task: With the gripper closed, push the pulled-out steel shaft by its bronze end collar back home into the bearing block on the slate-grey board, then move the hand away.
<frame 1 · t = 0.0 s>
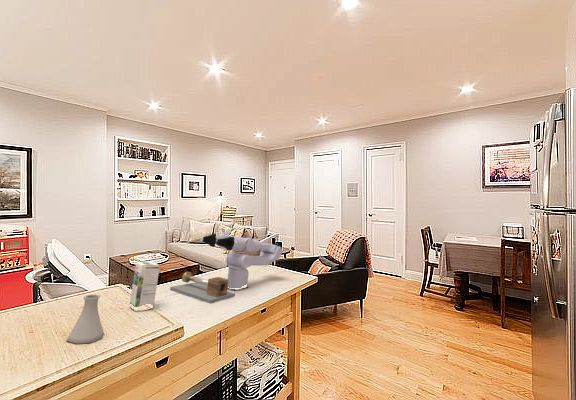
hand: (210, 240, 114), 22 cm above the worktop, tool horizontal, fingers open, 7 cm apart
bearing block: (216, 297, 112), resting on base board
base board: (202, 293, 116), on the worktop
flask: (85, 338, 69), on the worktop
syrup box: (141, 308, 92), on the worktop
shaft: (200, 280, 117), point 4 cm above the worktop, slide at 7.0 cm
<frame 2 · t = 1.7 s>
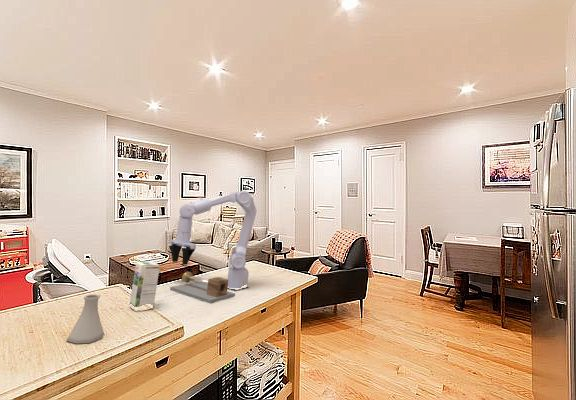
hand: (179, 263, 124), 9 cm above the worktop, tool pointing down, fingers open, 6 cm apart
nothing on the worktop moved.
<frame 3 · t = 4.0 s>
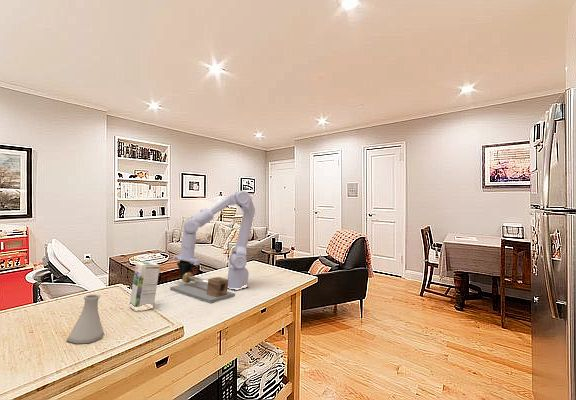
hand: (183, 279, 122), 3 cm above the worktop, tool pointing down, fingers closed
shaft: (200, 280, 117), point 4 cm above the worktop, slide at 6.7 cm, touching gripper
everything else where it was.
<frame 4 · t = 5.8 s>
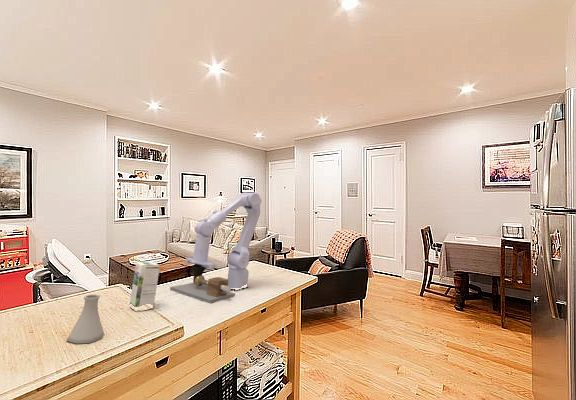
hand: (196, 283, 118), 3 cm above the worktop, tool pointing down, fingers closed, pressing on shaft
shaft: (213, 284, 113), point 4 cm above the worktop, slide at -0.4 cm, touching gripper
everything else where it was.
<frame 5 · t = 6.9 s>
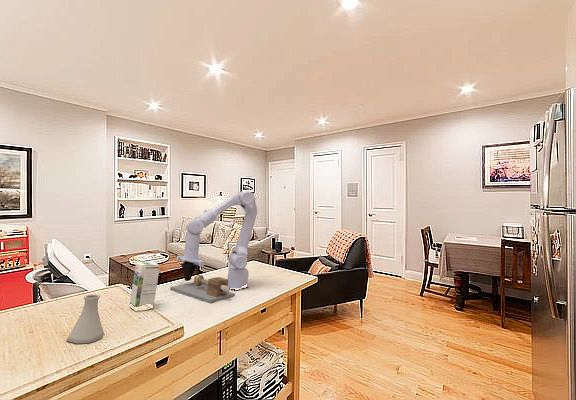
hand: (187, 280, 120), 3 cm above the worktop, tool pointing down, fingers closed
shaft: (212, 284, 114), point 5 cm above the worktop, slide at 0.0 cm
everything else where it was.
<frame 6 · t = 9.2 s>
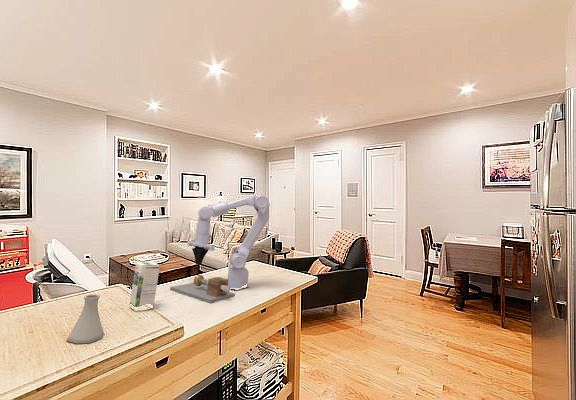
hand: (198, 264, 125), 9 cm above the worktop, tool pointing down, fingers closed
nothing on the worktop moved.
at the end: shaft slide at 0.0 cm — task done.
